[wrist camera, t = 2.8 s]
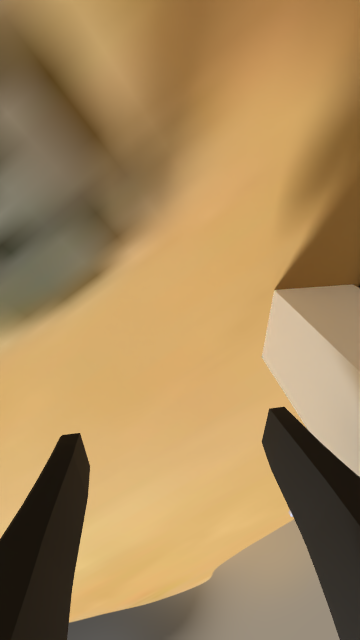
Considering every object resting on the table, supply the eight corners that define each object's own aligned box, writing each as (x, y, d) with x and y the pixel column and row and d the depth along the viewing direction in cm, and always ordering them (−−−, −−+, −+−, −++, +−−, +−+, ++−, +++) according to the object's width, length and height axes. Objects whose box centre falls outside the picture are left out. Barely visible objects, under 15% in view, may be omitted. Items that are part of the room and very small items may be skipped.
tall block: (329, 350, 19) (484, 504, 11) (261, 357, 19) (369, 525, 10) (352, 284, 17) (578, 418, 8) (274, 290, 16) (431, 440, 8)
